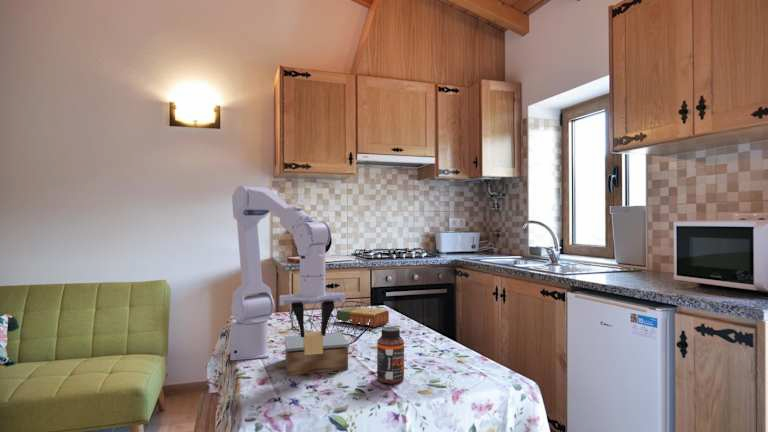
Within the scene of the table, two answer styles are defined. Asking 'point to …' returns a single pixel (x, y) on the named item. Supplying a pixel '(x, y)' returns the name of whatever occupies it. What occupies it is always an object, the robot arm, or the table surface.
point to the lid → (328, 341)
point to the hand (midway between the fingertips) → (312, 335)
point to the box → (316, 361)
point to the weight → (313, 343)
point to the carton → (364, 316)
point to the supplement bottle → (390, 356)
